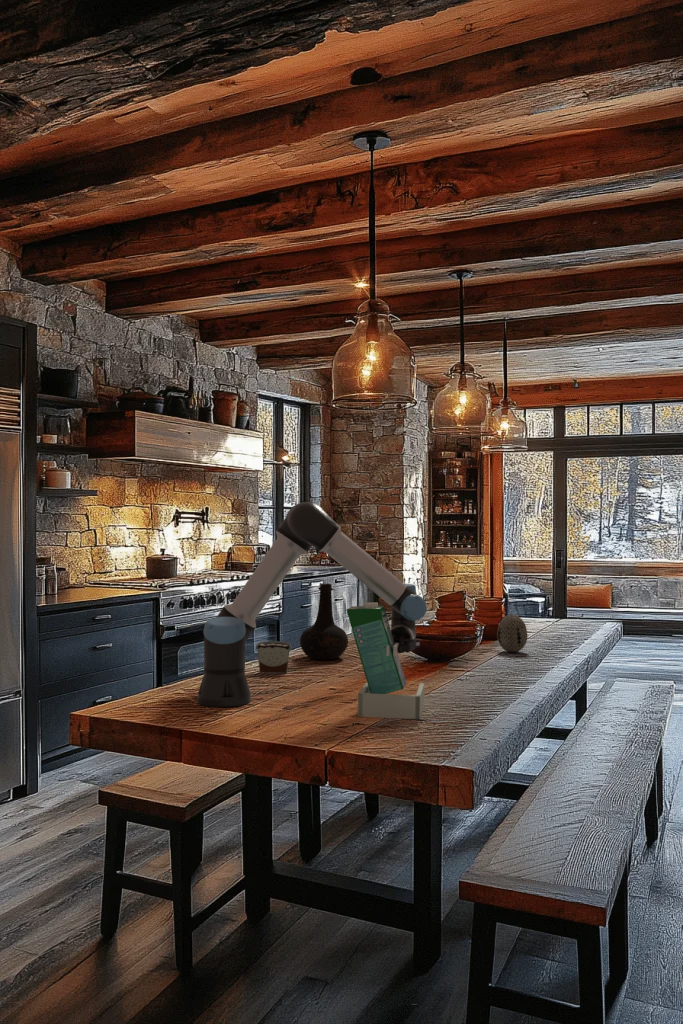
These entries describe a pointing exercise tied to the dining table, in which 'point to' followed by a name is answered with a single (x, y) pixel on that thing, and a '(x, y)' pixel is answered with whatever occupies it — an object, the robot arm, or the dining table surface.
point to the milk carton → (376, 648)
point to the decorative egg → (512, 633)
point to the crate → (390, 704)
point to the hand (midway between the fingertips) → (391, 651)
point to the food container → (273, 656)
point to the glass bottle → (324, 631)
